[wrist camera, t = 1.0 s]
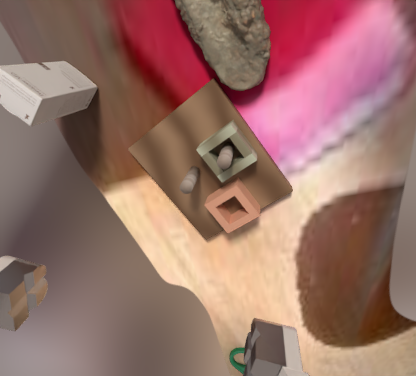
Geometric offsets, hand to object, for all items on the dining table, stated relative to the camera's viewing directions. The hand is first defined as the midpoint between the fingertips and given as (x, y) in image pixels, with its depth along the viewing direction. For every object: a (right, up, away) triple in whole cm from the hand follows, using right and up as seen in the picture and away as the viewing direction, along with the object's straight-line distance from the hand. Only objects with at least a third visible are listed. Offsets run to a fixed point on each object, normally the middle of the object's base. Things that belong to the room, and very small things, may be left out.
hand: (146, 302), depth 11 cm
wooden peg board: (+3, +8, +35) cm, 35 cm away
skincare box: (-18, +20, +33) cm, 42 cm away
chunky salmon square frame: (+6, +2, +35) cm, 36 cm away
